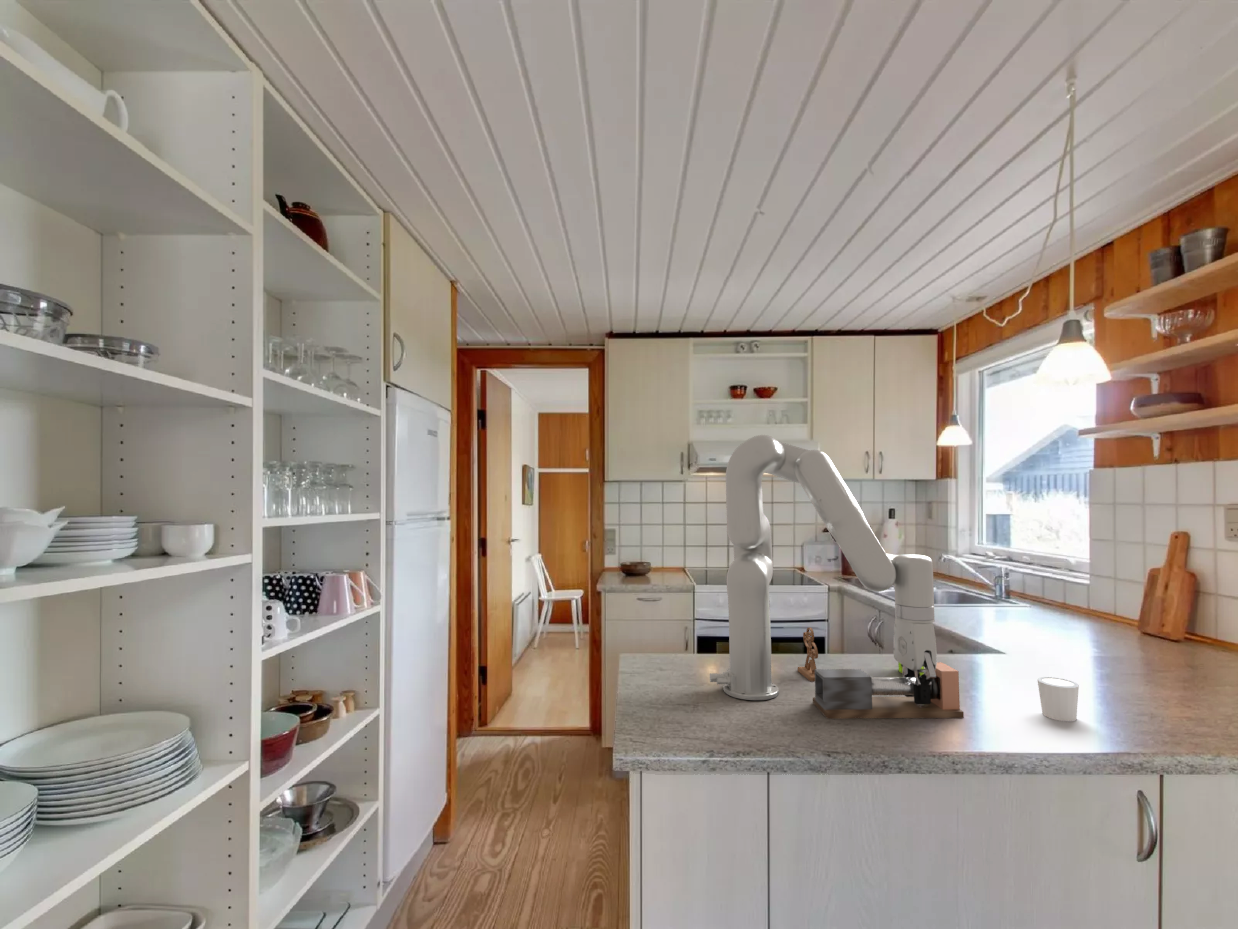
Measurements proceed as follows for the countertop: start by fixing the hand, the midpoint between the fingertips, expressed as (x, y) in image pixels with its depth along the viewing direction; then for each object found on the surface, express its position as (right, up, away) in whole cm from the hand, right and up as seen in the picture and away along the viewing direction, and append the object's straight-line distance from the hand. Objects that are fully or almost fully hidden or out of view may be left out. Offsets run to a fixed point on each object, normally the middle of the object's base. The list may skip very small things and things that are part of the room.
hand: (917, 699), depth 125 cm
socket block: (+6, -1, 0) cm, 6 cm away
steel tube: (-4, 0, 0) cm, 4 cm away
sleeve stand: (-7, -2, 0) cm, 7 cm away
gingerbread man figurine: (-15, -4, +24) cm, 28 cm away
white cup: (+27, -2, -4) cm, 28 cm away
